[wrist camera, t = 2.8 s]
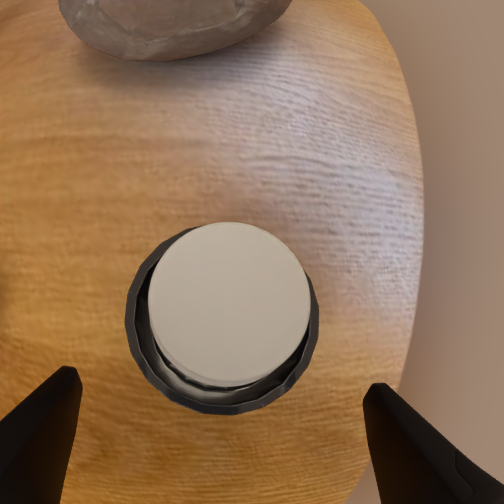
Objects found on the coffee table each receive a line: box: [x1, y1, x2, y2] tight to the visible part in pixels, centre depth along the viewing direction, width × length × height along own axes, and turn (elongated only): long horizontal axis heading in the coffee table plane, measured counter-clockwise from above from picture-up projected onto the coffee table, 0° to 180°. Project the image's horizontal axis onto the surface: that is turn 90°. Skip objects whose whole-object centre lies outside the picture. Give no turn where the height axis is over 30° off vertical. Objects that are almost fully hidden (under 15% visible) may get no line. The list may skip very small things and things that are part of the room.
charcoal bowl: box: [125, 225, 319, 415], centre depth 16 cm, size 9×9×4 cm
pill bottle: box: [148, 222, 311, 387], centre depth 13 cm, size 6×6×10 cm
